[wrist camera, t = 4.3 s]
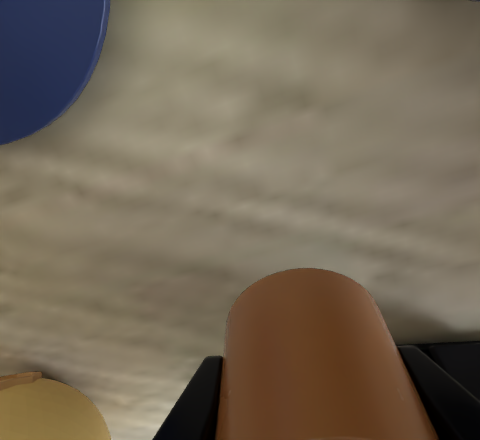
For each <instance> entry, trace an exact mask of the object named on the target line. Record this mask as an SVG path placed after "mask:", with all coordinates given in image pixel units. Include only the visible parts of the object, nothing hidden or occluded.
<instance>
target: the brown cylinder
mask: <svg viewBox="0 0 480 440" xmlns="http://www.w3.org/2000/svg"><path fill="white" fill-rule="evenodd" d="M215 440H439V438H438V436H437V434H436V431H435V429H434V427H433V425H432V423H431V421H430V418H429V416H428V414H427V412H426V410H425V407H424V405H423V403H422V401H421V399H420V397H419V394H418V392H417V390H416V388H415V386H414V384H413V381H412V379H411V377H410V375H409V373H408V371H407V368H406V366H405V364H404V362H403V360H402V358H401V355H400V353H399V351H398V349H397V347H396V345H395V342H394V340H393V338H392V336H391V334H390V332H389V329H388V327H387V325H386V323H385V321H384V319H383V316H382V314H381V312H380V310H379V308H378V305H377V304H376V302H375V300H374V299H373V297H372V296H371V295H370V293H369V292H368V291H367V290H366V289H365V288H364V287H362V286H361V285H360V284H359V283H357V282H355V281H354V280H352V279H351V278H348V277H346V276H344V275H342V274H339V273H336V272H333V271H328V270H323V269H315V268H298V269H290V270H285V271H281V272H277V273H274V274H272V275H269V276H266V277H264V278H262V279H260V280H258V281H257V282H255V283H254V284H252V285H251V286H249V287H248V288H247V289H246V290H245V291H244V292H243V293H242V294H241V295H240V296H239V297H238V298H237V299H236V301H235V302H234V304H233V305H232V307H231V310H230V312H229V314H228V318H227V323H226V333H225V343H224V353H223V363H222V373H221V383H220V393H219V403H218V413H217V423H216V433H215Z"/></svg>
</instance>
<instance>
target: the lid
mask: <svg viewBox="0 0 480 440" xmlns="http://www.w3.org/2000/svg"><path fill="white" fill-rule="evenodd" d="M109 10H110V0H0V145H3V144H8V143H11V142H14V141H16V140H19V139H22V138H25V137H28V136H30V135H32V134H34V133H36V132H38V131H40V130H41V129H43V128H45V127H47V126H49V125H50V124H51V123H52V122H54V121H55V120H56V119H57V118H59V117H60V116H61V115H63V114H64V113H65V112H66V111H67V109H68V108H69V107H70V106H71V105H72V104H73V103H74V102H75V101H76V99H77V98H78V97H79V95H80V94H81V92H82V91H83V89H84V88H85V86H86V84H87V83H88V81H89V80H90V77H91V75H92V73H93V71H94V69H95V66H96V64H97V62H98V60H99V56H100V53H101V50H102V46H103V43H104V39H105V36H106V30H107V23H108V17H109Z"/></svg>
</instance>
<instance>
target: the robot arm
mask: <svg viewBox="0 0 480 440" xmlns="http://www.w3.org/2000/svg"><path fill="white" fill-rule="evenodd" d="M396 347H397V349H398V351H399V353H400V355H401V358H402V360H403V362H404V364H405V366H406V368H407V371H408V373H409V375H410V377H411V379H412V381H413V384H414V386H415V388H416V390H417V392H418V394H419V397H420V399H421V401H422V403H423V405H424V407H425V410H426V412H427V414H428V416H429V418H430V421H431V423H432V425H433V427H434V429H435V431H436V434H437V436H438V438H439V440H480V341H467V342H448V343H428V344H409V345H396ZM222 363H223V357H222V356H208V357H206V358H205V359H204V360H203V362H202V363H201V365H200V366H199V368H198V370H197V371H196V373H195V374H194V376H193V377H192V379H191V380H190V382H189V384H188V385H187V387H186V388H185V390H184V391H183V393H182V394H181V396H180V397H179V399H178V401H177V402H176V404H175V405H174V407H173V408H172V410H171V411H170V413H169V415H168V416H167V418H166V419H165V421H164V422H163V424H162V425H161V427H160V428H159V430H158V432H157V433H156V435H155V436H154V438H153V439H152V440H215V433H216V423H217V413H218V403H219V393H220V383H221V373H222Z"/></svg>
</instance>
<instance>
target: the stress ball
mask: <svg viewBox="0 0 480 440" xmlns="http://www.w3.org/2000/svg"><path fill="white" fill-rule="evenodd" d="M0 440H111V437H110V434H109V431H108V428H107V425H106V423H105V421H104V419H103V417H102V415H101V413H100V412H99V411H98V409H97V408H96V406H95V405H94V404H93V403H92V402H91V401H90V400H89V399H88V398H87V397H86V396H85V395H84V394H82V393H81V392H80V391H78V390H77V389H75V388H73V387H71V386H69V385H67V384H64V383H61V382H58V381H55V380H50V379H44V378H42V373H41V372H25V373H20V374H14V375H8V376H2V377H0Z"/></svg>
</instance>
